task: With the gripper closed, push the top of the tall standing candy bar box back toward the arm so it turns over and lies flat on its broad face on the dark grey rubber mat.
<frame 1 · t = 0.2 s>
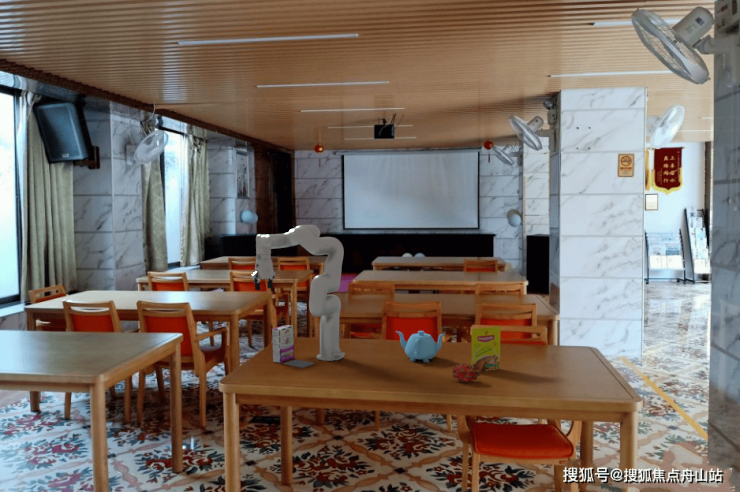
hand: (263, 289, 317), 31 cm above the table, tool pointing down, fingers open, 9 cm apart
candy bar box: (283, 360, 290), on the table
mat: (298, 363, 283), on the table
dragon fruit: (465, 382, 254), on the table
food package: (485, 371, 271), on the table
teapot: (420, 359, 292), on the table
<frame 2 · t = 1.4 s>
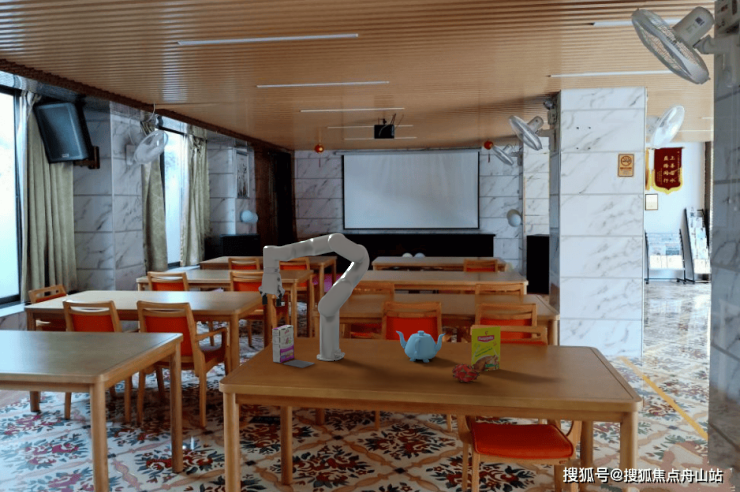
hand: (271, 305, 293), 26 cm above the table, tool pointing down, fingers open, 9 cm apart
nothing on the table moved.
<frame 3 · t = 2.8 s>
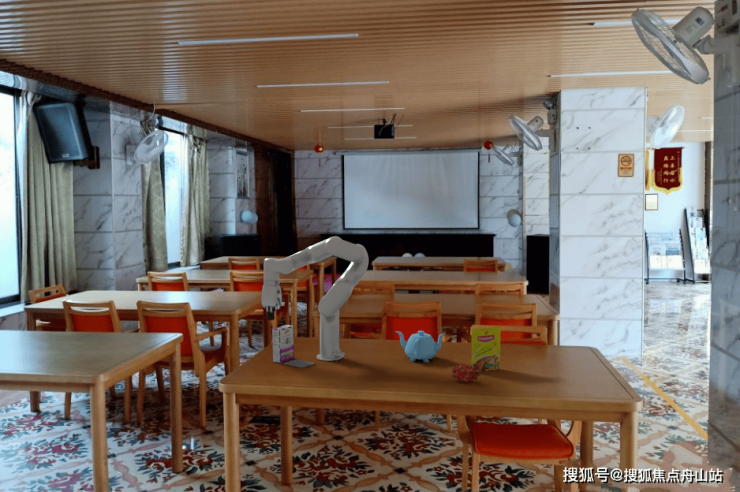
hand: (270, 319, 293), 19 cm above the table, tool pointing down, fingers closed
nothing on the table moved.
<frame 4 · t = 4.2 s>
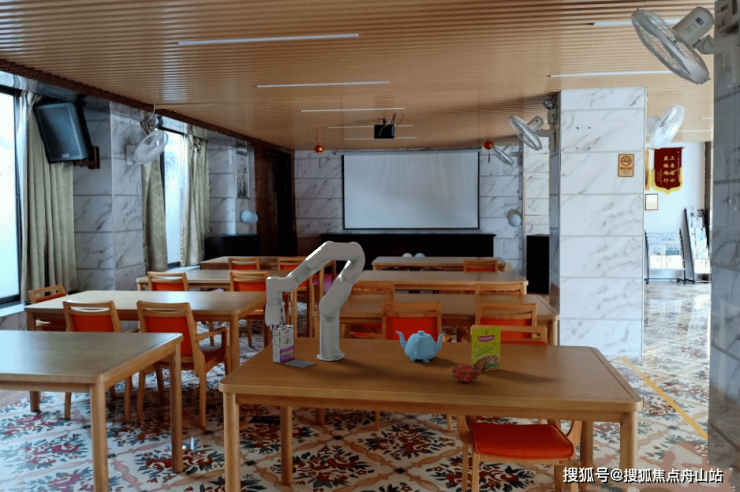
hand: (275, 338, 293), 10 cm above the table, tool pointing down, fingers closed
nothing on the table moved.
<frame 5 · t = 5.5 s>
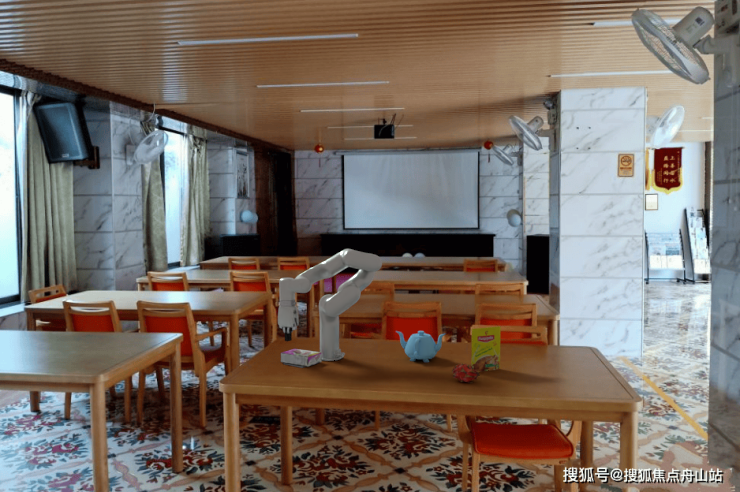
hand: (288, 340, 288), 10 cm above the table, tool pointing down, fingers closed
candy bar box: (287, 354, 289), point 3 cm above the table, touching mat
everything else where it was.
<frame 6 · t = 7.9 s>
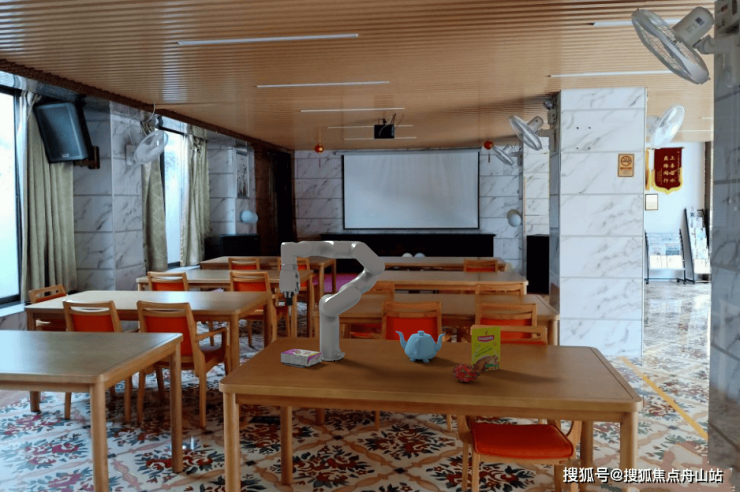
hand: (289, 305, 288), 27 cm above the table, tool pointing down, fingers closed
nothing on the table moved.
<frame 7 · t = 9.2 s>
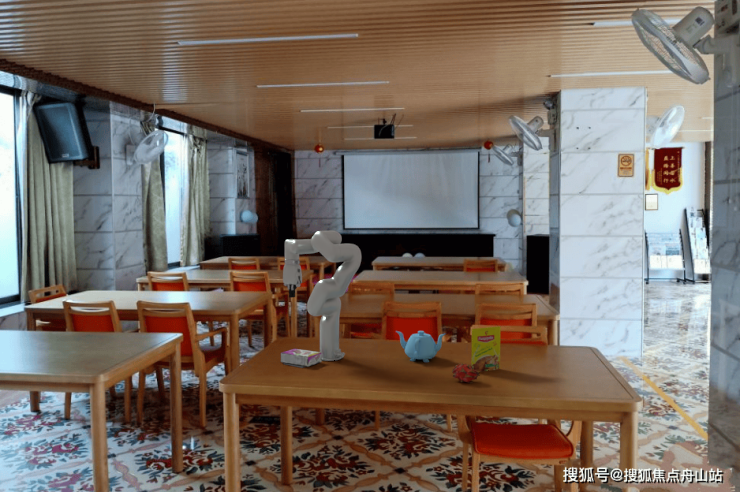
hand: (292, 297, 314), 27 cm above the table, tool pointing down, fingers closed
nothing on the table moved.
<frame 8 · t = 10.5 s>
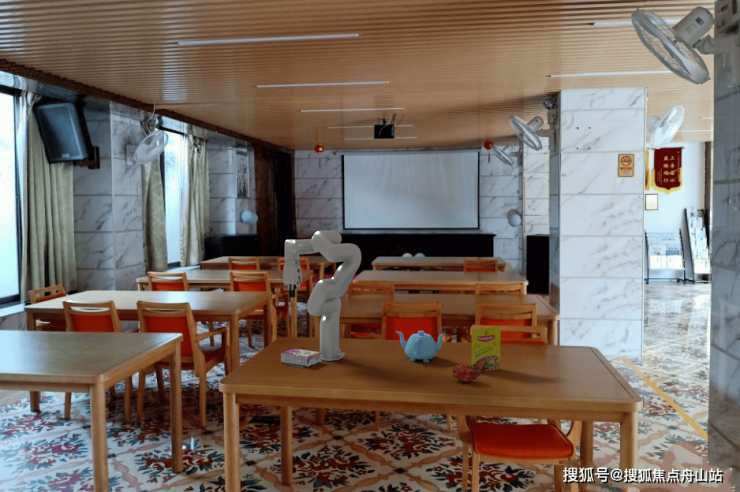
hand: (292, 297, 314), 27 cm above the table, tool pointing down, fingers closed
nothing on the table moved.
at the end: candy bar box tilted 91°; candy bar box touching mat; candy bar box inside the target area (2.7 cm from its centre), point 2.8 cm above the table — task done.
